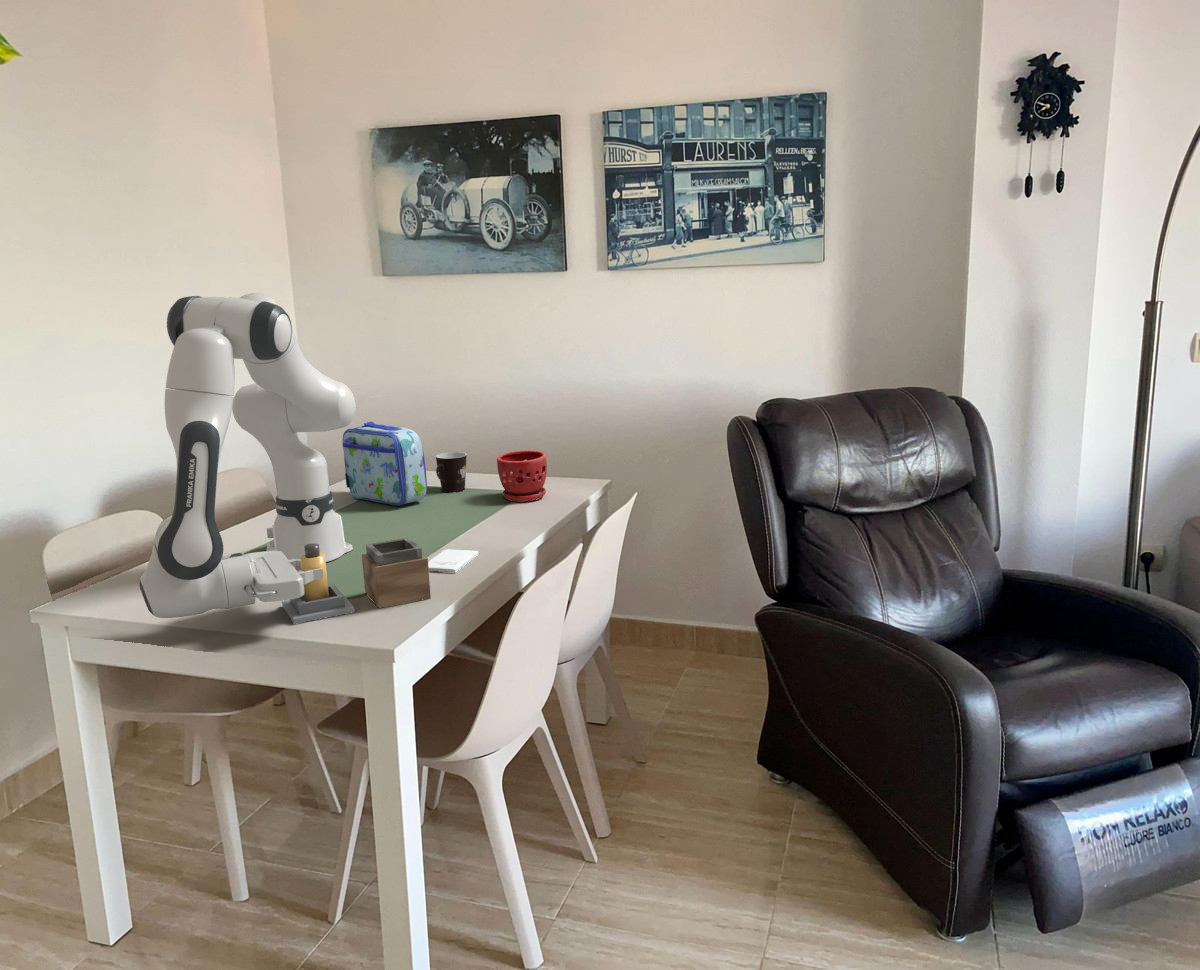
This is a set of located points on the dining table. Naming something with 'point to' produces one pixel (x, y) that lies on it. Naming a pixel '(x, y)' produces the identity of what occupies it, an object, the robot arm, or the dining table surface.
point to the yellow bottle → (310, 560)
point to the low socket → (318, 606)
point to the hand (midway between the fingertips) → (318, 567)
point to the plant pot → (522, 475)
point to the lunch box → (384, 464)
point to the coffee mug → (451, 471)
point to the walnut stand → (395, 572)
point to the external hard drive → (451, 560)
